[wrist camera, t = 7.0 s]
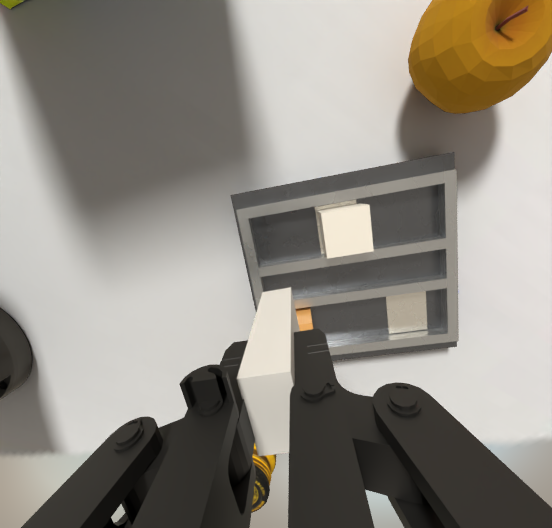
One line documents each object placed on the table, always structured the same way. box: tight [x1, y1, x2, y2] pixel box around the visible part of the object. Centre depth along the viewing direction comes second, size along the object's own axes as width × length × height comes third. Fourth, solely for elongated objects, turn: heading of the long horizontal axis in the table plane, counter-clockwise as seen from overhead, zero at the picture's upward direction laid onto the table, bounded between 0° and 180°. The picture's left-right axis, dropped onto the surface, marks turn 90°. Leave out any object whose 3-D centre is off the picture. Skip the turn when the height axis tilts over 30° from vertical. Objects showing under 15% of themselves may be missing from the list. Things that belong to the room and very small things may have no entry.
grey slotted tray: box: [231, 152, 458, 360], centre depth 27 cm, size 21×20×3 cm
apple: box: [408, 0, 552, 114], centre depth 19 cm, size 9×9×9 cm
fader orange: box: [296, 308, 313, 331], centre depth 27 cm, size 4×4×4 cm
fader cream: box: [318, 203, 374, 259], centre depth 24 cm, size 4×4×4 cm
